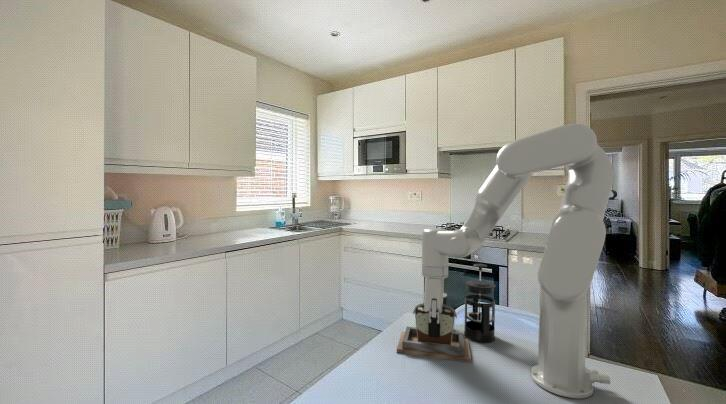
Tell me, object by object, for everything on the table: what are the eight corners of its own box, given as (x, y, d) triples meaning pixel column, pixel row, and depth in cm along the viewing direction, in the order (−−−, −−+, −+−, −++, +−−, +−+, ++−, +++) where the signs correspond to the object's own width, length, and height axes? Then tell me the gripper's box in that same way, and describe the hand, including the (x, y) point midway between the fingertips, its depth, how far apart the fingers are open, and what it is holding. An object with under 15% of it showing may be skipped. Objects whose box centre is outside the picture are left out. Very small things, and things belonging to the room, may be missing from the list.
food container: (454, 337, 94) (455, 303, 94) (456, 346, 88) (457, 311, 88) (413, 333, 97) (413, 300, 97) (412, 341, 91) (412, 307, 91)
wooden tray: (467, 342, 96) (467, 332, 95) (471, 362, 84) (471, 351, 84) (402, 334, 100) (402, 325, 100) (396, 352, 89) (396, 341, 89)
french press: (459, 328, 105) (460, 260, 105) (488, 329, 105) (489, 261, 105) (470, 345, 94) (471, 268, 93) (502, 346, 93) (503, 269, 93)
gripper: (423, 264, 101) (423, 320, 101) (419, 276, 84) (419, 343, 85) (447, 265, 99) (447, 322, 99) (448, 278, 83) (447, 347, 83)
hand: (434, 331), depth 92 cm, fingers closed on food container, 5 cm apart
